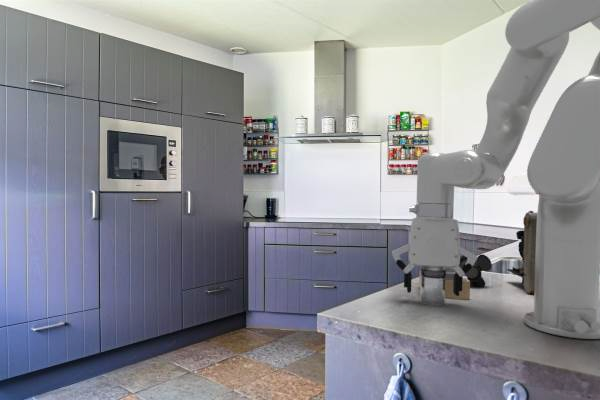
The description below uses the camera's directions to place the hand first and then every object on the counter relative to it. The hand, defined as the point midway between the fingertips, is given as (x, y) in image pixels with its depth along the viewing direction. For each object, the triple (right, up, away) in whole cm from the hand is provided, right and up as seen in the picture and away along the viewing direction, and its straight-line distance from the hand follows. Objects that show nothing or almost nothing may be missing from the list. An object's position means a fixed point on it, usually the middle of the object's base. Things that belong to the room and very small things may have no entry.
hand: (432, 292), depth 89 cm
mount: (+6, -2, +10) cm, 11 cm away
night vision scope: (+17, -3, +23) cm, 29 cm away
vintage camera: (+31, -3, +17) cm, 35 cm away
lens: (0, -2, 0) cm, 2 cm away
